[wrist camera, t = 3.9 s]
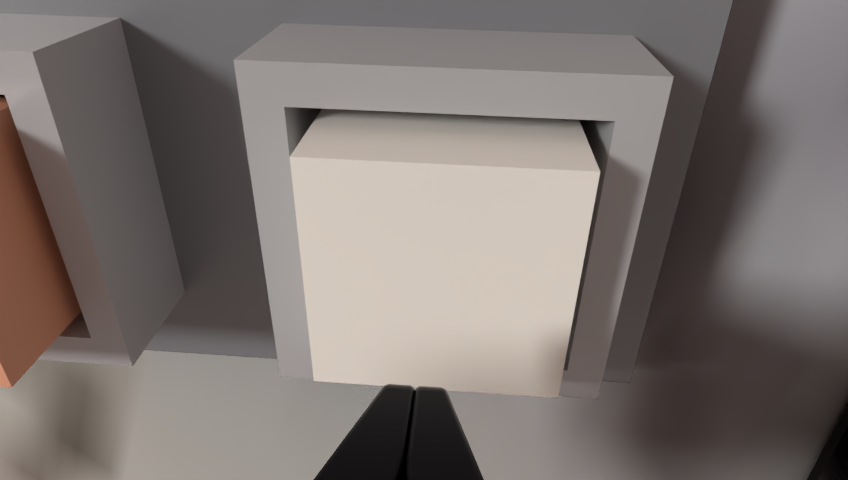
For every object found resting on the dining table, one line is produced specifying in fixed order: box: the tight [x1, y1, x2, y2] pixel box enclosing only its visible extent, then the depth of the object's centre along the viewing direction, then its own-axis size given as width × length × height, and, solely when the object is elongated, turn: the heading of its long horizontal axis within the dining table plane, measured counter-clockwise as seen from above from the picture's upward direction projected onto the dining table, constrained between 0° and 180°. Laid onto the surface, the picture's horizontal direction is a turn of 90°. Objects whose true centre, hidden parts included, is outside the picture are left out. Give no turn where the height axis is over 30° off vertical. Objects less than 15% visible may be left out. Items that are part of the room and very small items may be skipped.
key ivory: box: [290, 109, 600, 398], centre depth 12 cm, size 5×5×3 cm
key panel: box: [0, 0, 733, 399], centre depth 14 cm, size 12×22×5 cm, turn 89°
